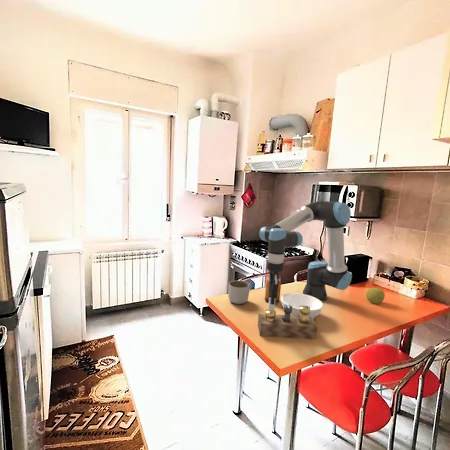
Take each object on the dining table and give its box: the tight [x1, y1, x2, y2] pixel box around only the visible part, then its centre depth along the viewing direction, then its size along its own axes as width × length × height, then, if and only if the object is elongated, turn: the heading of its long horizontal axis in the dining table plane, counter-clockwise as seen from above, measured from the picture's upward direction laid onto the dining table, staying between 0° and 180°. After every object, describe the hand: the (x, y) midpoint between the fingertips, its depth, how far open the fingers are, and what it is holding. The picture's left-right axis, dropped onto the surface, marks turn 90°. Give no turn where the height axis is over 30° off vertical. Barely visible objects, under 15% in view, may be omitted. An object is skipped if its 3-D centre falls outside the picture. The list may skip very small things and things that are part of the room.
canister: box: [264, 274, 282, 304], centre depth 164 cm, size 9×11×20 cm
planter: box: [227, 280, 251, 305], centre depth 162 cm, size 12×12×11 cm
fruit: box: [365, 287, 385, 305], centre depth 173 cm, size 10×11×10 cm
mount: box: [257, 313, 318, 340], centre depth 130 cm, size 26×10×6 cm, turn 89°
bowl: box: [280, 292, 324, 321], centre depth 149 cm, size 22×22×8 cm
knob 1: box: [264, 309, 277, 321], centre depth 130 cm, size 5×5×9 cm
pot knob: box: [283, 305, 292, 322], centre depth 129 cm, size 4×4×10 cm
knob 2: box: [299, 306, 310, 324], centre depth 129 cm, size 5×5×9 cm
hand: (271, 309), depth 129 cm, fingers closed
